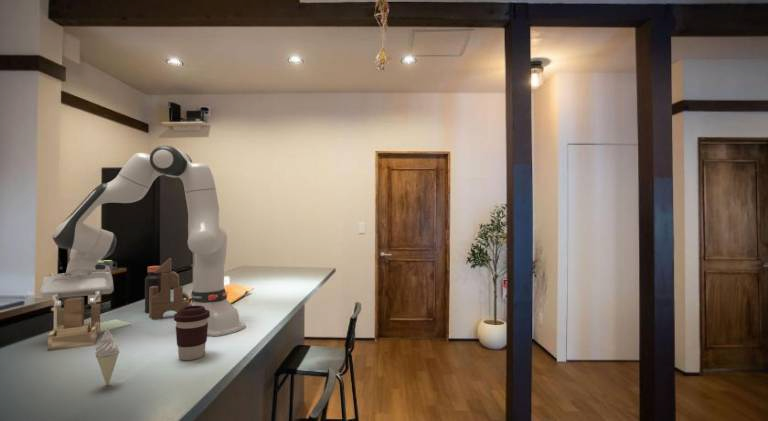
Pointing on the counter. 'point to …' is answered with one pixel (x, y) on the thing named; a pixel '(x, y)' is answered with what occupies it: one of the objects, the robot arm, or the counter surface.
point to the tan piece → (75, 332)
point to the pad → (112, 325)
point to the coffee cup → (191, 331)
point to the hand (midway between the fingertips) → (75, 305)
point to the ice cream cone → (107, 355)
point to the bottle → (151, 284)
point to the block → (73, 313)
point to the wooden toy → (166, 293)
